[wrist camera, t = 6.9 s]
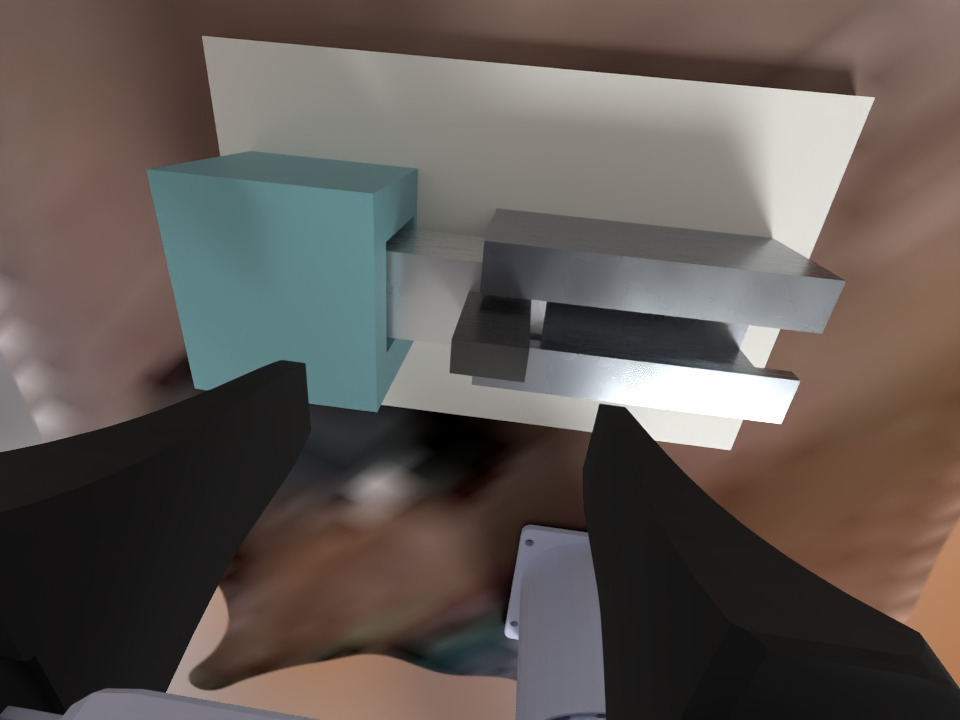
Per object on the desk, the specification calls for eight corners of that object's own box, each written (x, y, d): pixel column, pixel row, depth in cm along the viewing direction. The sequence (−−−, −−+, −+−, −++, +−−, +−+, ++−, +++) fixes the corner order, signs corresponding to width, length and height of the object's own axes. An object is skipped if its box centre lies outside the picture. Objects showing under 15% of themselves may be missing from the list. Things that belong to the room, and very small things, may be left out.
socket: (414, 340, 21) (377, 412, 16) (272, 323, 22) (194, 388, 17) (417, 168, 18) (373, 193, 13) (250, 151, 18) (146, 169, 13)
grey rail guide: (729, 355, 20) (780, 423, 16) (485, 326, 21) (471, 384, 16) (773, 237, 18) (846, 281, 14) (497, 208, 18) (484, 240, 14)
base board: (723, 436, 23) (730, 450, 22) (266, 377, 24) (256, 388, 23) (856, 98, 16) (874, 97, 15) (218, 38, 18) (201, 35, 17)
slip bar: (538, 320, 19) (538, 416, 13) (289, 291, 20) (185, 370, 14) (549, 244, 18) (555, 314, 12) (281, 214, 18) (162, 268, 13)
